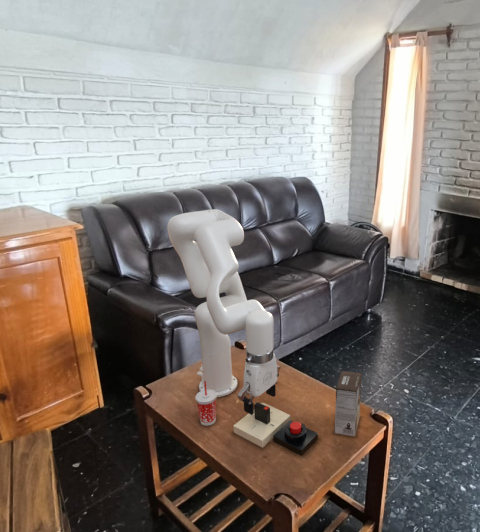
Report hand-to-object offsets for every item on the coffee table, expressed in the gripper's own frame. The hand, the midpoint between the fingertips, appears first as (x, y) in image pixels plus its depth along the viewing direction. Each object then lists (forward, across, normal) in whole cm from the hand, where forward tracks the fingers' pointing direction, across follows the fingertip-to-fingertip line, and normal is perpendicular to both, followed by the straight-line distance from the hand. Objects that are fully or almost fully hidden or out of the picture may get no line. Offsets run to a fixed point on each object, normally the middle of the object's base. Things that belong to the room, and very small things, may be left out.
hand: (260, 403), depth 129 cm
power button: (+4, +1, -13) cm, 13 cm away
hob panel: (+8, 0, -1) cm, 8 cm away
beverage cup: (+9, -7, +14) cm, 18 cm away
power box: (+7, +1, -13) cm, 15 cm away
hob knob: (+5, 0, -1) cm, 5 cm away
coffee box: (+7, +15, -22) cm, 27 cm away
